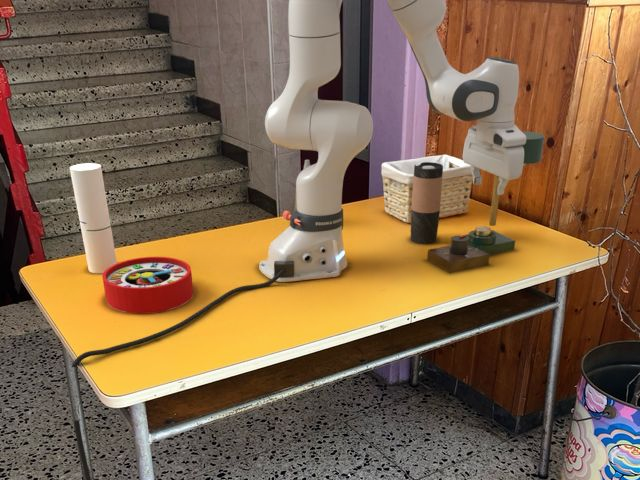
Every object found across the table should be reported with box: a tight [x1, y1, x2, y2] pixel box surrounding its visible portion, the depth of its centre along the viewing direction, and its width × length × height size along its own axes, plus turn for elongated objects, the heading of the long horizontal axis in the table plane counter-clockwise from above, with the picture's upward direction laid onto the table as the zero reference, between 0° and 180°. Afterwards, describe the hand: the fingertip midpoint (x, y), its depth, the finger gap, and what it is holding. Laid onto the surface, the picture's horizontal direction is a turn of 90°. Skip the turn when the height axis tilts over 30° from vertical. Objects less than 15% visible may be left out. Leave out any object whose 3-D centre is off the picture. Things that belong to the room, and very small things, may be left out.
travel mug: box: [410, 162, 443, 245], centre depth 198 cm, size 8×8×20 cm
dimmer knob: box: [449, 234, 469, 255], centre depth 185 cm, size 4×4×4 cm
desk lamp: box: [488, 130, 546, 227], centre depth 196 cm, size 13×10×22 cm
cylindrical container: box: [69, 162, 118, 274], centre depth 180 cm, size 7×7×25 cm
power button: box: [474, 225, 492, 237], centre depth 193 cm, size 4×4×2 cm
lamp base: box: [461, 229, 516, 256], centre depth 196 cm, size 12×10×4 cm
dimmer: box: [426, 244, 491, 274], centre depth 187 cm, size 12×10×3 cm
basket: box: [380, 154, 473, 224], centre depth 220 cm, size 24×16×15 cm
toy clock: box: [101, 256, 195, 314], centre depth 170 cm, size 20×6×20 cm
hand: (487, 189), depth 186 cm, fingers open, 8 cm apart
